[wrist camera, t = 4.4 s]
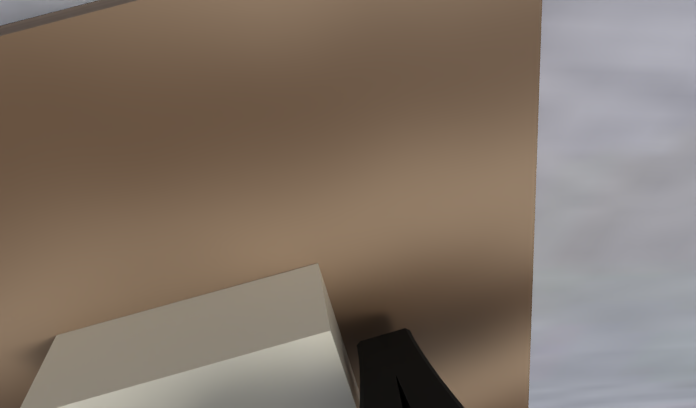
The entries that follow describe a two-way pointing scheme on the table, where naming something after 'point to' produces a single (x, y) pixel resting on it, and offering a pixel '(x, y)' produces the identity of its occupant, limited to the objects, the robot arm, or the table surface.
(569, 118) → the table surface
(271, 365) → the tile
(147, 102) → the drawer casing
